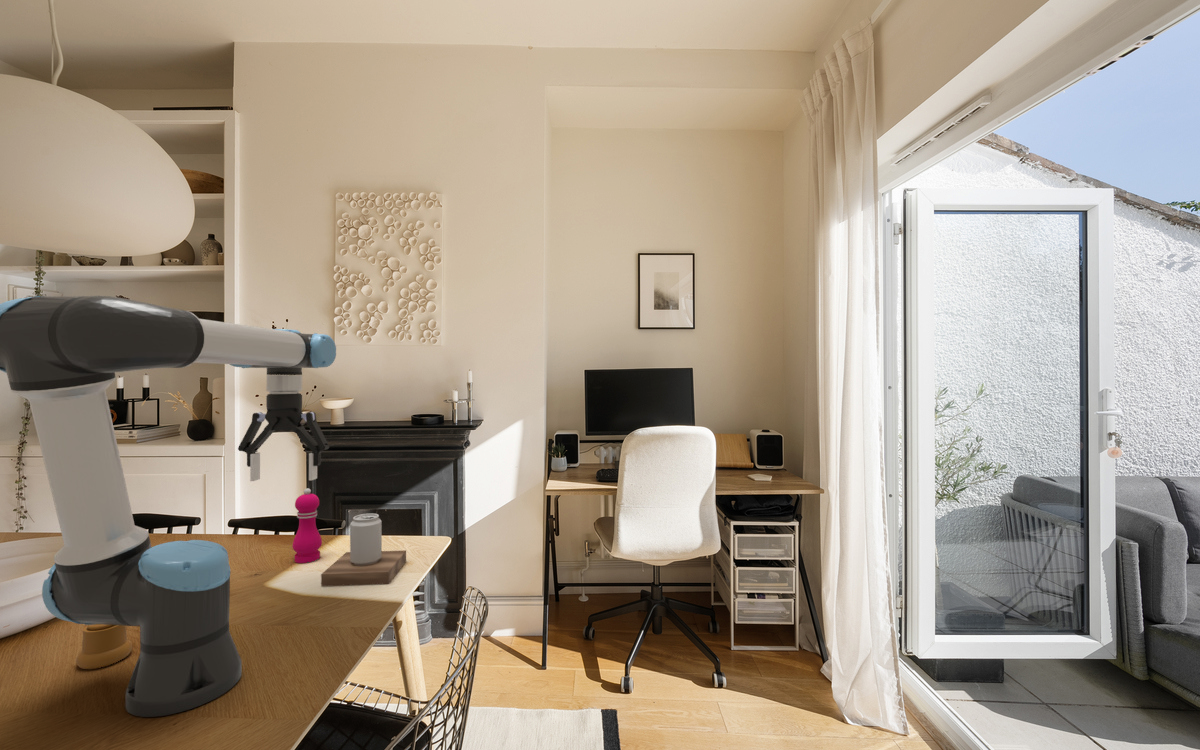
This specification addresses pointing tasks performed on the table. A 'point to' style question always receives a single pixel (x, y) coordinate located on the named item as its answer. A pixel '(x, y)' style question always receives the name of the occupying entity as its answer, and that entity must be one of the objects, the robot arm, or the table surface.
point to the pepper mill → (307, 529)
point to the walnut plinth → (364, 570)
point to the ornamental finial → (103, 646)
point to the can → (365, 539)
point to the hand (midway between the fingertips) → (284, 479)
